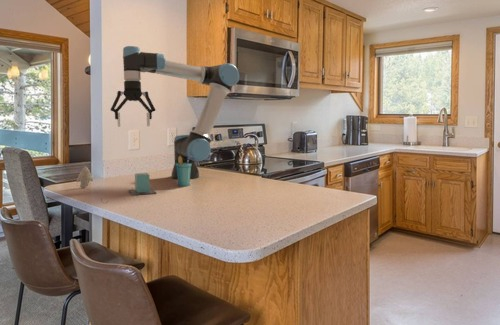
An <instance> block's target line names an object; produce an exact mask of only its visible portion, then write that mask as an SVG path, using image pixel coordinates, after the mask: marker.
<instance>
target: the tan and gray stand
mask: <svg viewBox="0 0 500 325" xmlns="http://www.w3.org/2000/svg"><path fill="white" fill-rule="evenodd" d="M128 193H130V194H131V196H145V195H156V194H157V191H156V190H154V189H153V188H150V192H141V193H137V192H136V191H135V189H129V190H128Z"/></svg>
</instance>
